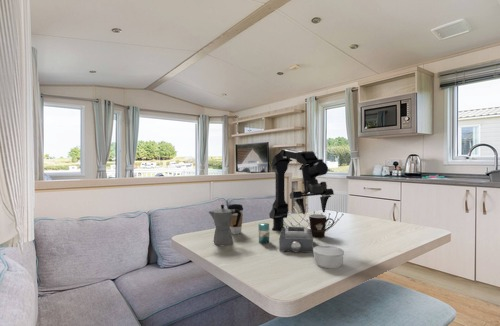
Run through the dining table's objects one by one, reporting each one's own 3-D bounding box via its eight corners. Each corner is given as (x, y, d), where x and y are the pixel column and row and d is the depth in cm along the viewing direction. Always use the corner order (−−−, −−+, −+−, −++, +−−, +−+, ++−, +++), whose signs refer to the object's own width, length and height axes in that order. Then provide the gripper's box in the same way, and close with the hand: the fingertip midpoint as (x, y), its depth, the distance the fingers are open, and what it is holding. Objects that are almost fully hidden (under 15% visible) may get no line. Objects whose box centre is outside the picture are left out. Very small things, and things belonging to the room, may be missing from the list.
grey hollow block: (281, 239, 131) (281, 224, 131) (311, 240, 128) (311, 225, 128) (279, 252, 113) (278, 234, 113) (313, 254, 111) (313, 236, 111)
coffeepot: (207, 246, 123) (207, 206, 122) (210, 239, 132) (209, 203, 132) (241, 245, 123) (241, 206, 123) (241, 239, 133) (241, 202, 132)
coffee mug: (307, 237, 134) (306, 217, 134) (311, 232, 142) (311, 213, 142) (331, 240, 129) (330, 219, 129) (334, 235, 137) (334, 215, 136)
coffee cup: (225, 234, 142) (224, 205, 142) (232, 229, 150) (231, 202, 149) (239, 235, 139) (239, 206, 138) (246, 231, 147) (245, 203, 146)
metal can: (259, 240, 130) (259, 222, 130) (270, 240, 130) (269, 223, 129) (257, 243, 125) (257, 225, 125) (268, 244, 125) (268, 225, 124)
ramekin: (335, 257, 108) (335, 243, 107) (350, 268, 96) (350, 253, 96) (308, 259, 106) (308, 246, 105) (320, 271, 95) (320, 256, 94)
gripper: (295, 177, 113) (300, 215, 110) (337, 174, 116) (342, 211, 113) (287, 180, 123) (291, 215, 121) (325, 177, 127) (330, 211, 124)
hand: (314, 213), depth 119 cm, fingers open, 9 cm apart
